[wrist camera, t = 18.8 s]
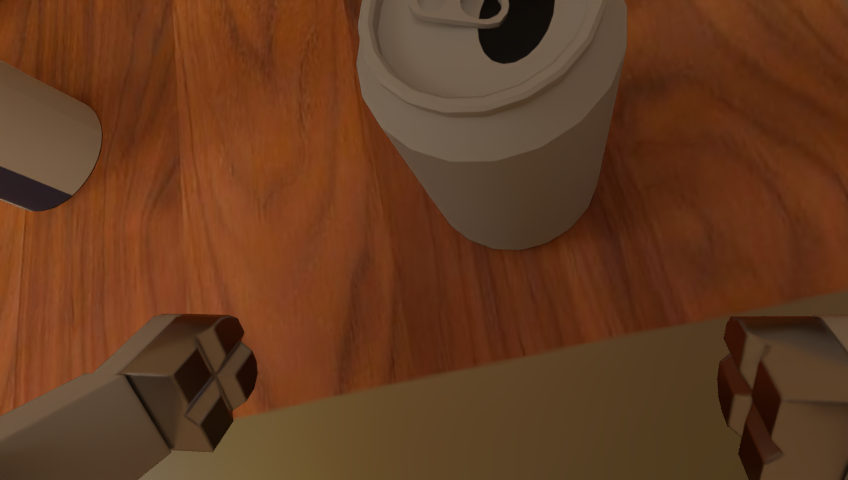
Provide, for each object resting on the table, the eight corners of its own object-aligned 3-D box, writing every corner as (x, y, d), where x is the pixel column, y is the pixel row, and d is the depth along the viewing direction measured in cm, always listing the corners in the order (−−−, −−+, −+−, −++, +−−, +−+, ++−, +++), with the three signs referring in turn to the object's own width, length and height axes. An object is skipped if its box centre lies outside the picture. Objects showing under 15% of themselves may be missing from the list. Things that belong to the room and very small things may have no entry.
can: (580, 270, 21) (606, 152, 10) (419, 238, 24) (295, 113, 12) (611, 115, 23) (664, -139, 11) (457, 99, 25) (376, -126, 14)
